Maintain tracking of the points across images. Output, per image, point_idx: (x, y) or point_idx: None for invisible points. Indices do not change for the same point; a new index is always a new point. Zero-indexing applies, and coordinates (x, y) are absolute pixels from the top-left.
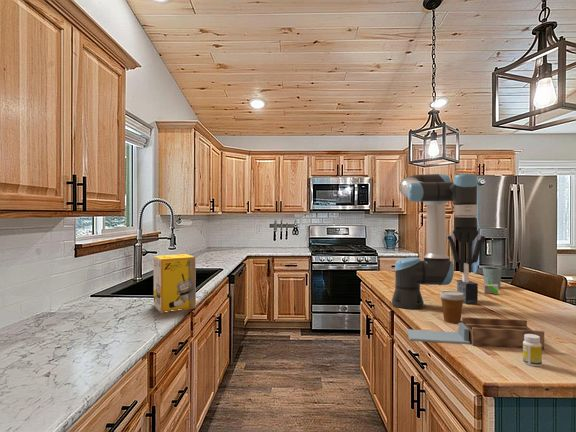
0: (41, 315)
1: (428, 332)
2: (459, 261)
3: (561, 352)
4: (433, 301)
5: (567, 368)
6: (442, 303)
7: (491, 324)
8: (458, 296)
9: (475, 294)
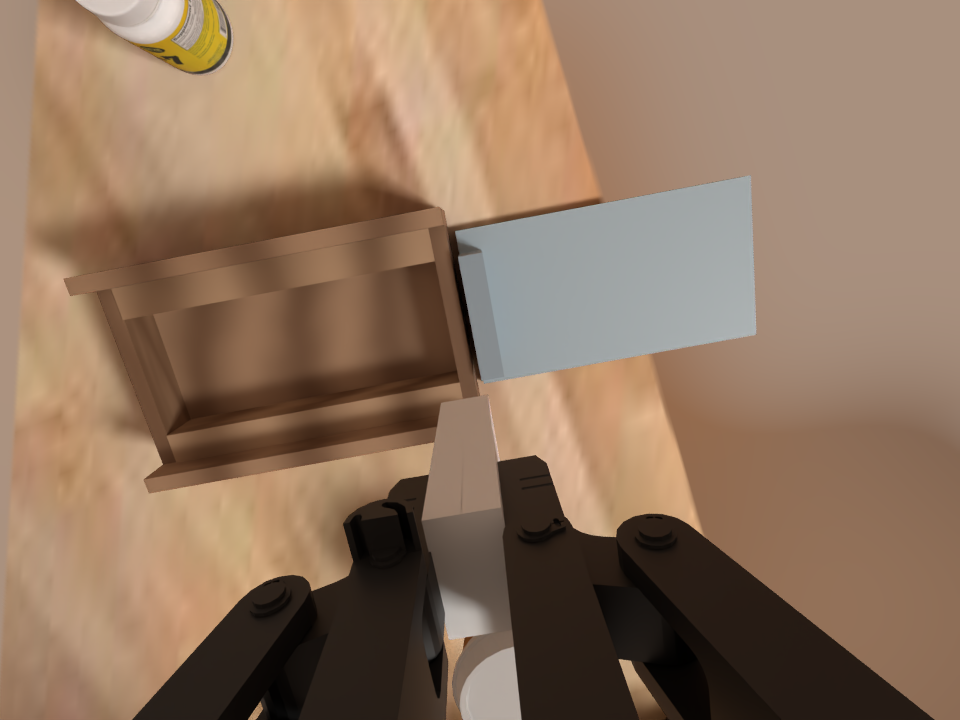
0: None
1: (647, 320)
2: (594, 552)
3: (63, 261)
4: None
5: (52, 26)
6: None
7: (333, 433)
8: (494, 644)
9: None
